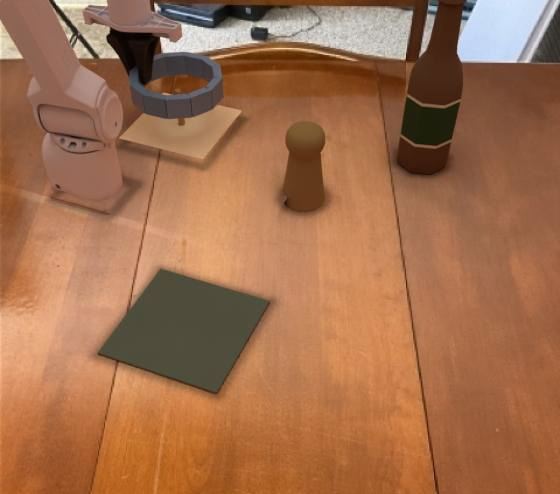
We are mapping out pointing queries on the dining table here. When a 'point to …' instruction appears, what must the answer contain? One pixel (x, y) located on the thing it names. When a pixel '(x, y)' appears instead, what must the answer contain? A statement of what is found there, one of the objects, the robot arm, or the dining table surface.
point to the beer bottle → (433, 95)
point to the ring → (179, 103)
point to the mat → (186, 330)
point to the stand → (182, 131)
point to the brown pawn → (304, 167)
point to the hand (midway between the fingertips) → (141, 80)
